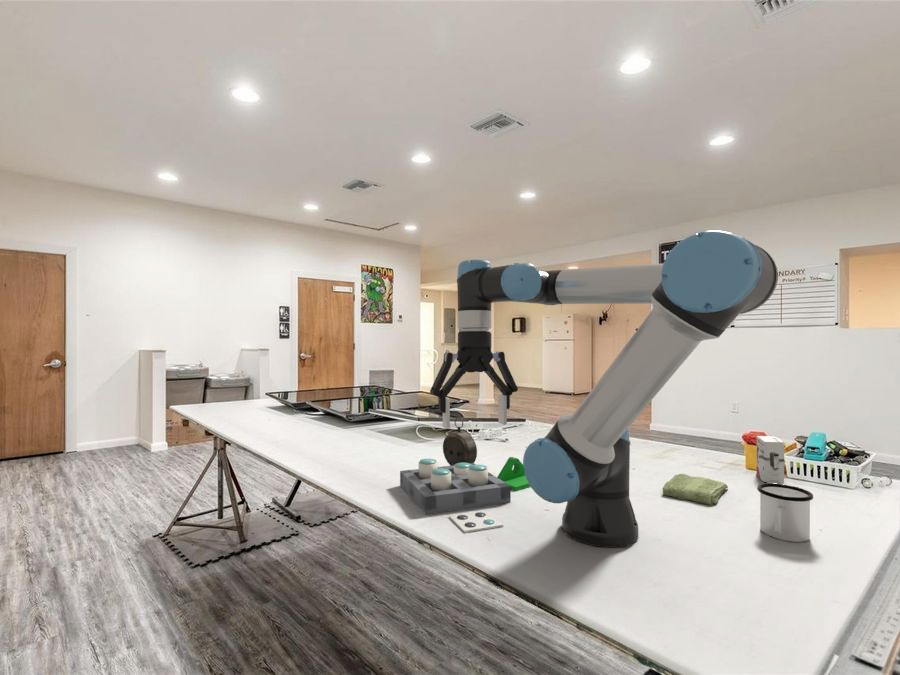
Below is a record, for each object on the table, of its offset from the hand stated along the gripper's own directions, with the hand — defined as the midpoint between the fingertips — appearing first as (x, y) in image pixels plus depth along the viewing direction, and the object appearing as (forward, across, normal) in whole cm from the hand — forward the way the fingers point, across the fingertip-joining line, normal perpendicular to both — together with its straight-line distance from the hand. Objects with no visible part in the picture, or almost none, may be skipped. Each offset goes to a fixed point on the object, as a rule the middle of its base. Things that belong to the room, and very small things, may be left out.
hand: (475, 425), depth 105 cm
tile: (+21, +1, +2) cm, 21 cm away
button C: (+17, -6, -13) cm, 22 cm away
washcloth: (+22, -61, +2) cm, 65 cm away
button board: (+21, -1, -18) cm, 27 cm away
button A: (+17, +4, -12) cm, 22 cm away
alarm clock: (+21, -10, -36) cm, 42 cm away
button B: (+17, +4, -22) cm, 29 cm away
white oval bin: (+22, -56, +29) cm, 67 cm away
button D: (+19, -6, -23) cm, 30 cm away
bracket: (+21, -22, -20) cm, 36 cm away
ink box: (+21, -90, +1) cm, 93 cm away
